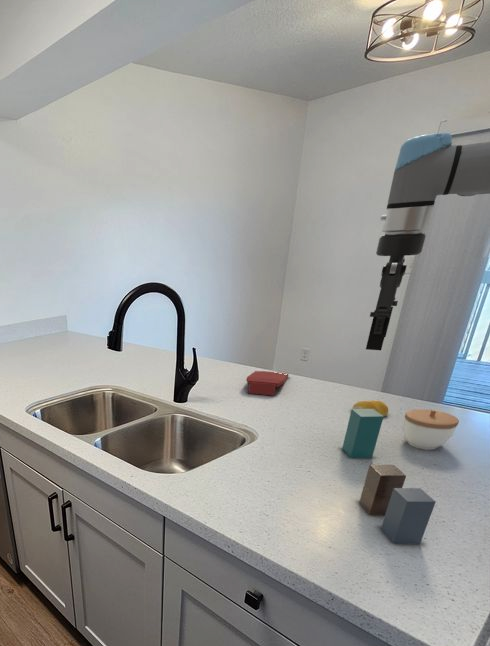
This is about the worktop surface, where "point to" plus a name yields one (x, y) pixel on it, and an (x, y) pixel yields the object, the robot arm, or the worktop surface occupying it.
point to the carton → (265, 382)
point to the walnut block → (380, 487)
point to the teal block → (362, 433)
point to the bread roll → (372, 406)
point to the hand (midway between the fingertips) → (376, 342)
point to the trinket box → (428, 428)
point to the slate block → (407, 515)
